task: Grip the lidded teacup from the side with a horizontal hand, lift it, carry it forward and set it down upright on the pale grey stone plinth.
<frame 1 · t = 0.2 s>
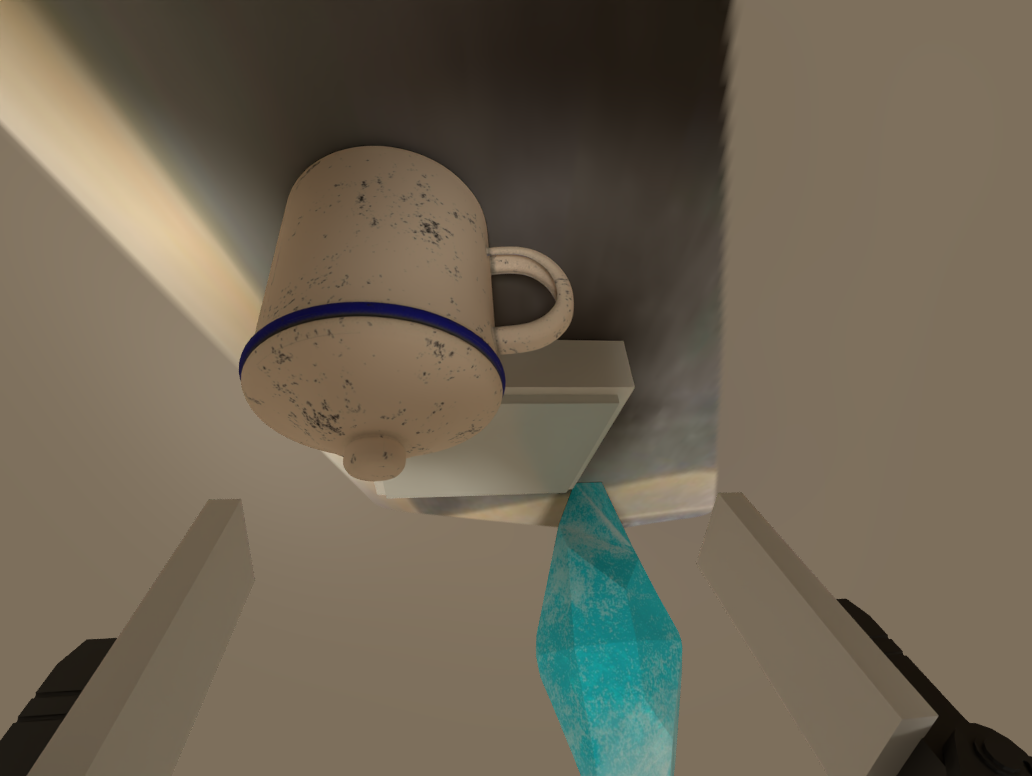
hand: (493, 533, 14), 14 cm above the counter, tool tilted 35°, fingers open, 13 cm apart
crystal: (585, 486, 53), on the counter
plinth: (483, 406, 37), on the counter
teacup with lid: (423, 223, 23), on the counter
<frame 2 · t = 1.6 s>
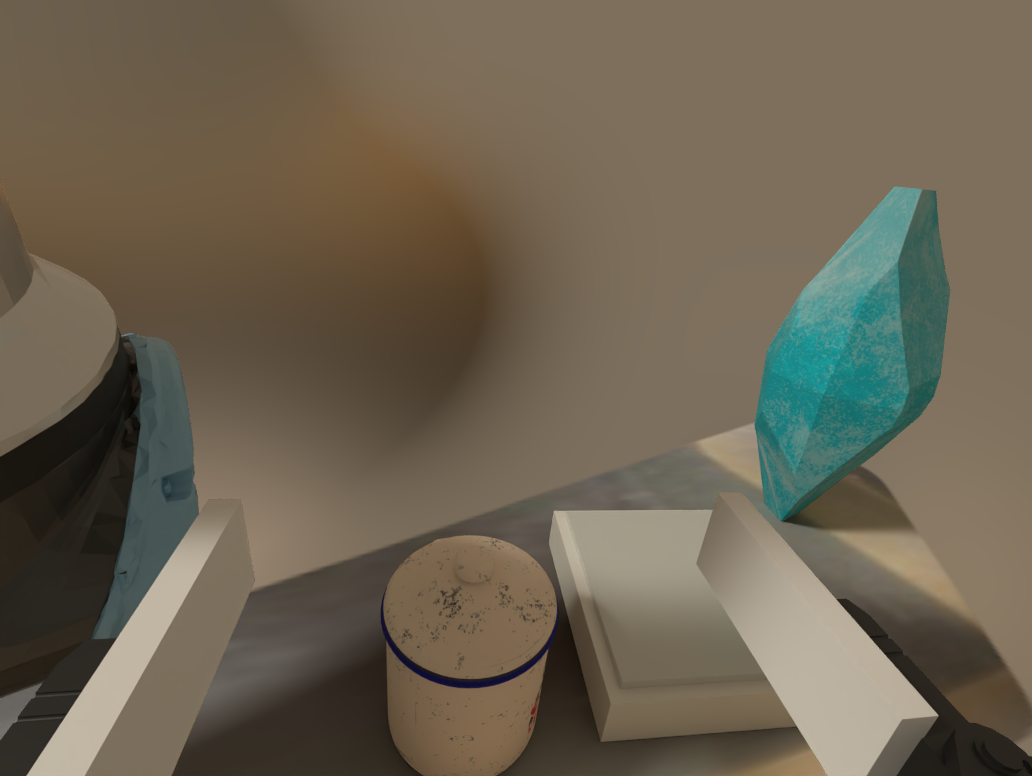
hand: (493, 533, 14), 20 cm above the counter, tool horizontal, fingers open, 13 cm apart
crystal: (786, 512, 50), on the counter
plinth: (675, 618, 37), on the counter
teacup with lid: (457, 685, 31), on the counter
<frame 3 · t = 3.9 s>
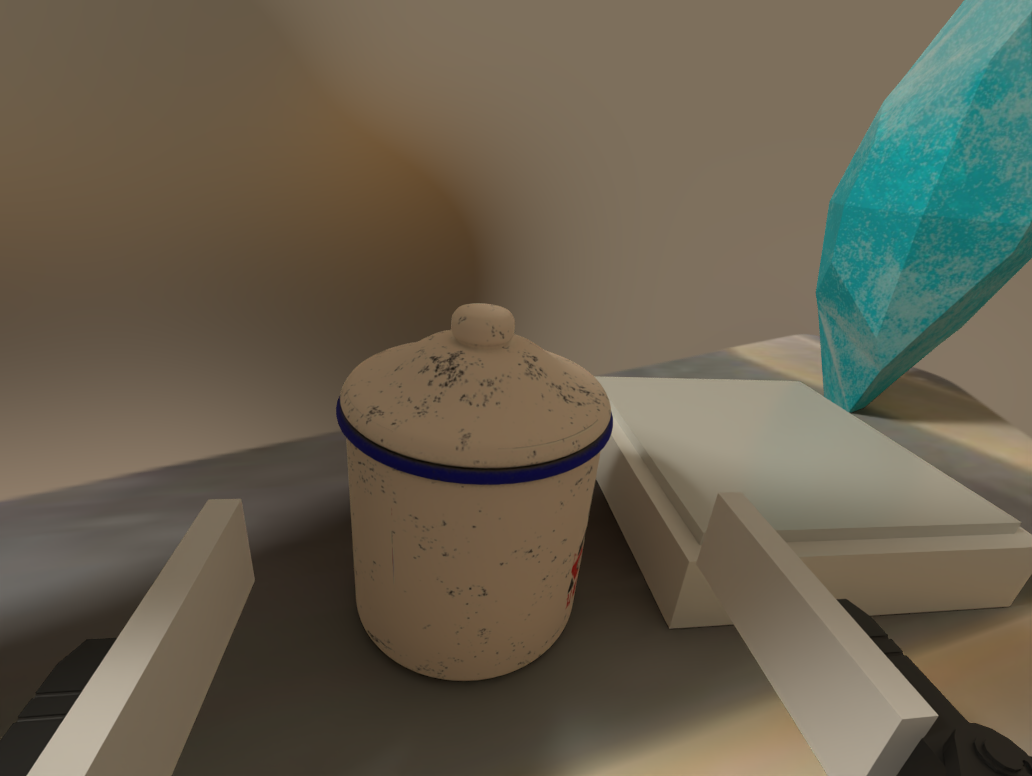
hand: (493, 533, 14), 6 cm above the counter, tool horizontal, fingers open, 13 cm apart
crystal: (851, 406, 42), on the counter
plinth: (744, 497, 28), on the counter
teacup with lid: (457, 565, 22), on the counter
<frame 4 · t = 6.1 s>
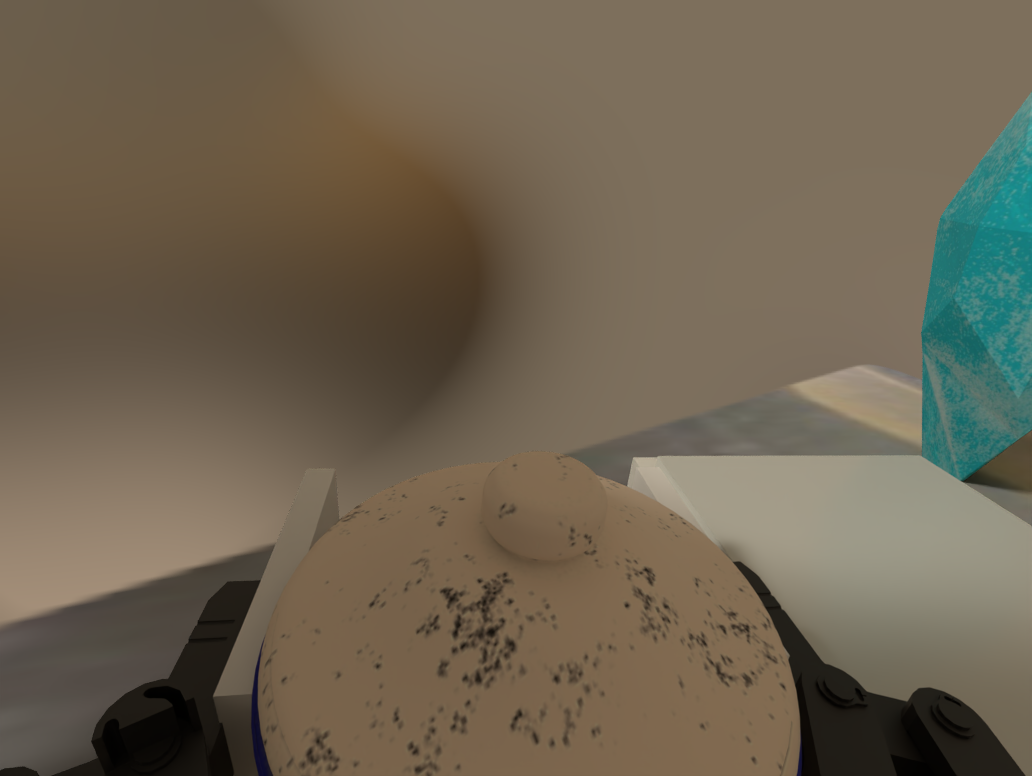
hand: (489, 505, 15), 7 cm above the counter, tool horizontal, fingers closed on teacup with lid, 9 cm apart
crystal: (958, 469, 34), on the counter
plinth: (877, 639, 20), on the counter
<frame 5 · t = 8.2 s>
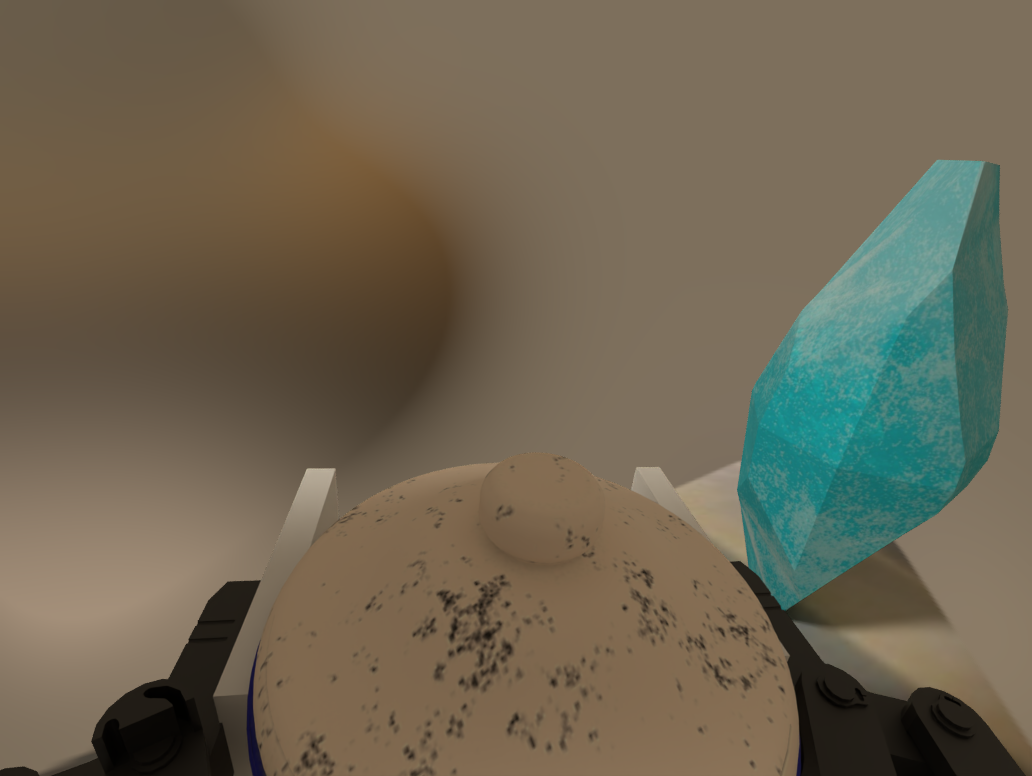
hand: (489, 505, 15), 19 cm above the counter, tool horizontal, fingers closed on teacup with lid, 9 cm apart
crystal: (780, 600, 38), on the counter
when the fingers open (12 cm above the counter, at t = 10.3 s): teacup with lid drops 1 cm, resting on plinth.
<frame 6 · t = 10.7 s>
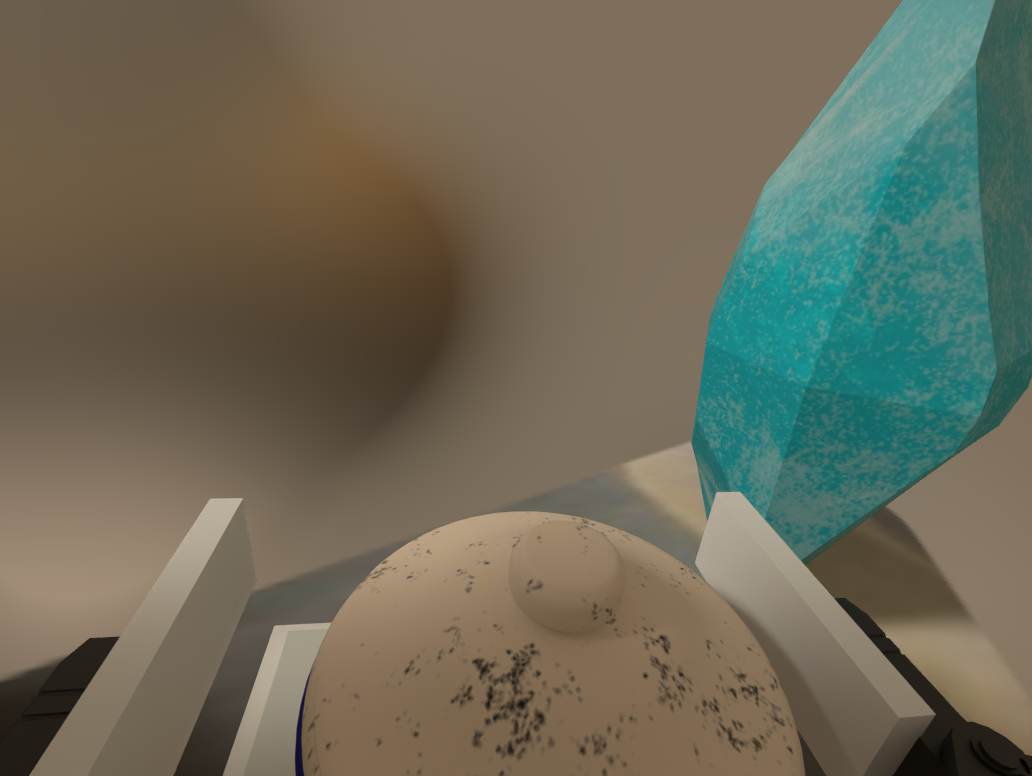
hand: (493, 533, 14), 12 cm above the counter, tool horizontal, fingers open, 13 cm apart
crystal: (752, 588, 30), on the counter
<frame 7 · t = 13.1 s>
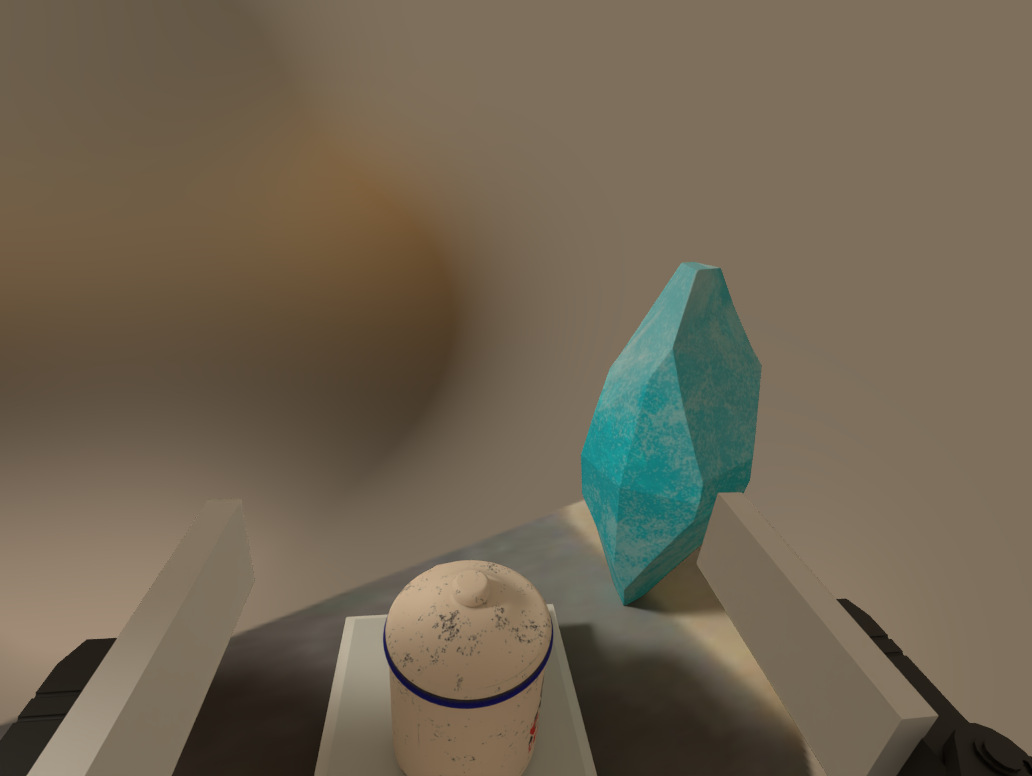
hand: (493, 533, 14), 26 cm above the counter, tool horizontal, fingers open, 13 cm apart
crystal: (634, 592, 47), on the counter
plinth: (455, 744, 34), on the counter
teacup with lid: (459, 708, 32), point 4 cm above the counter, touching plinth
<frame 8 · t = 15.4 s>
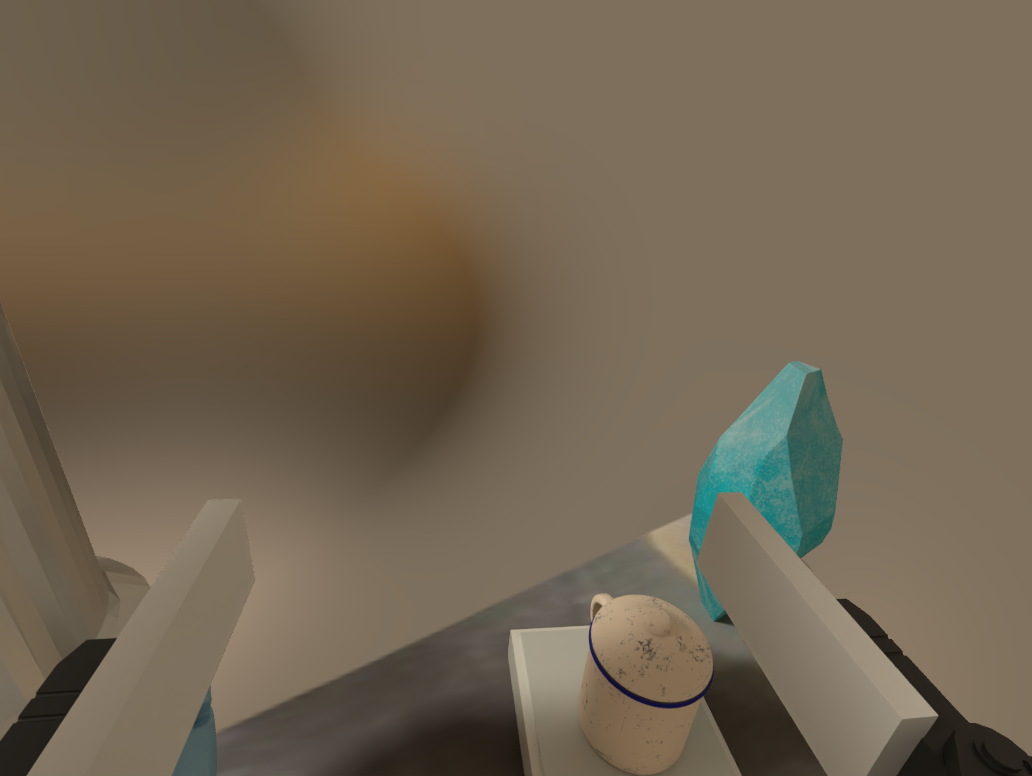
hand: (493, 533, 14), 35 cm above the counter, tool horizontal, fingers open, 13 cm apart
crystal: (720, 610, 58), on the counter
plinth: (609, 730, 44), on the counter
teacup with lid: (620, 703, 42), point 4 cm above the counter, touching plinth
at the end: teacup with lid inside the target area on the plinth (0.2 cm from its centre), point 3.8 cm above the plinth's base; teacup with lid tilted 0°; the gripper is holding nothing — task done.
